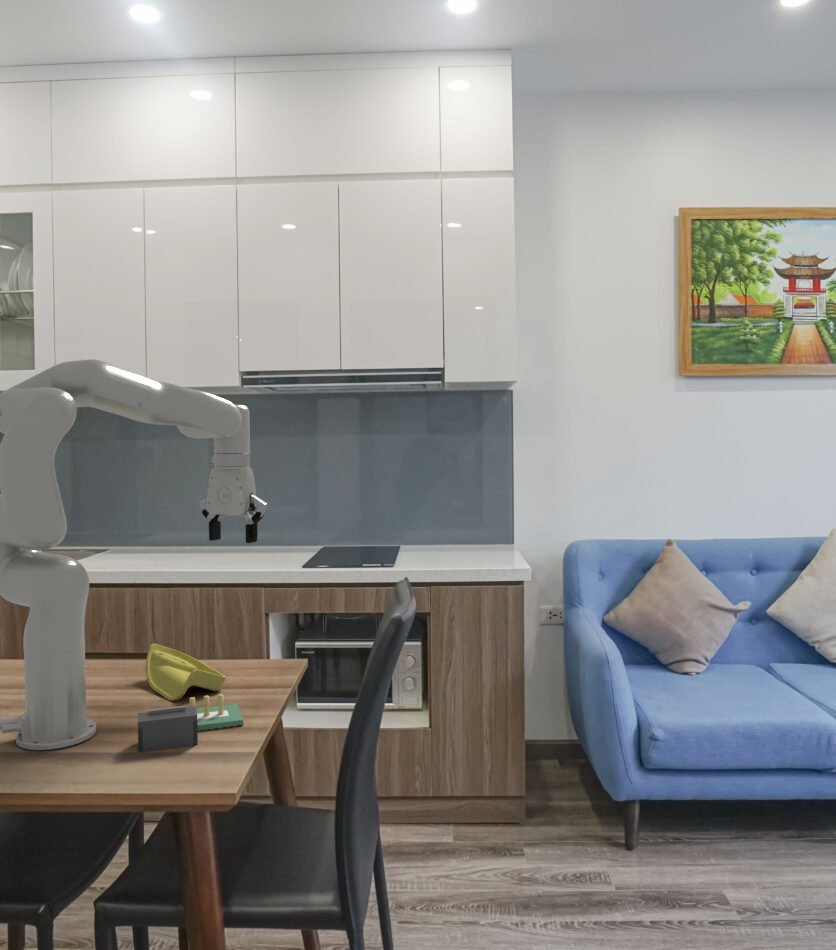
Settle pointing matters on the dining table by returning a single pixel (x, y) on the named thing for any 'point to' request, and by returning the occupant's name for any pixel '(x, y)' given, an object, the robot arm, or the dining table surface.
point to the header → (216, 714)
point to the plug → (167, 728)
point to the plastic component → (178, 673)
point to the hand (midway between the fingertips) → (233, 541)
